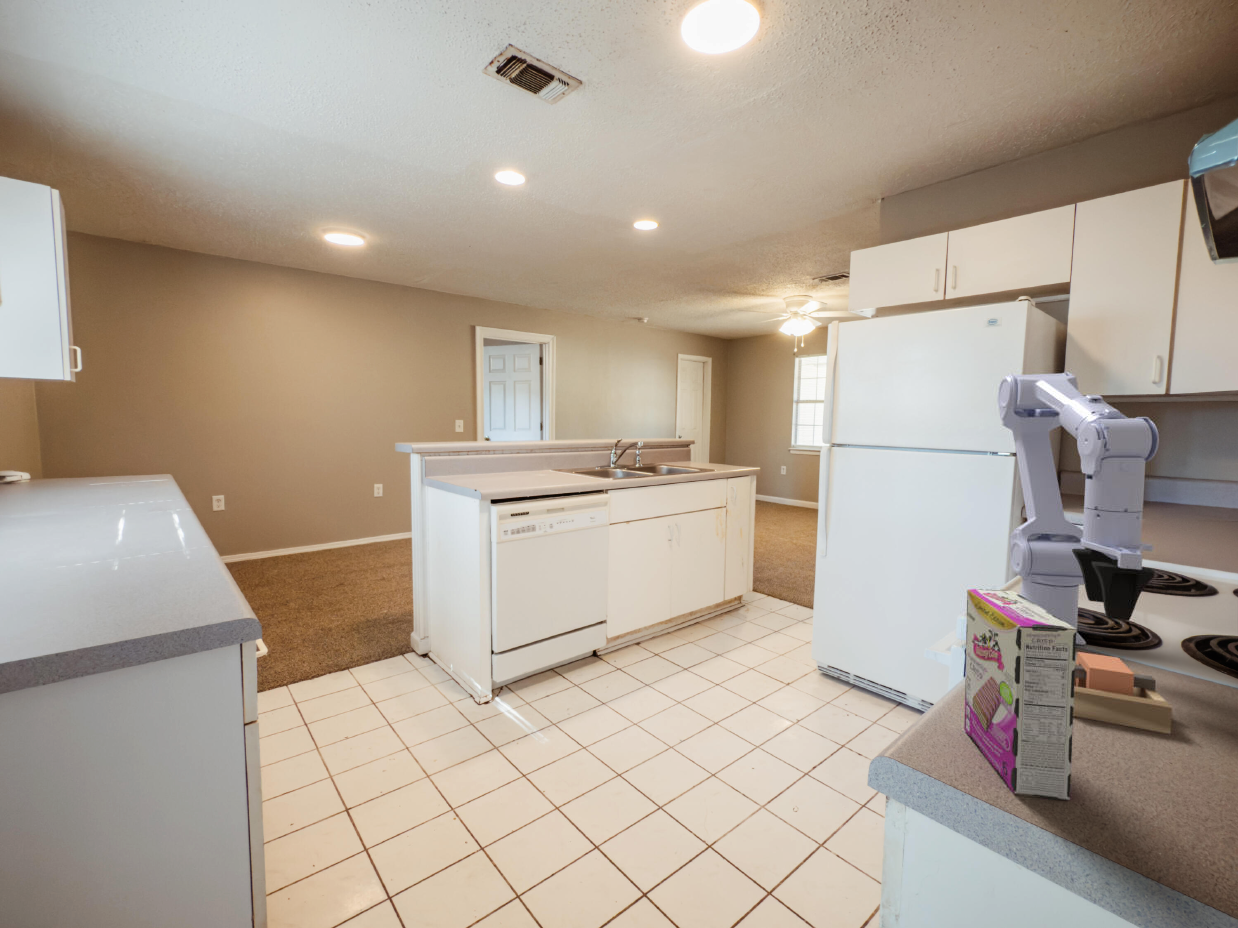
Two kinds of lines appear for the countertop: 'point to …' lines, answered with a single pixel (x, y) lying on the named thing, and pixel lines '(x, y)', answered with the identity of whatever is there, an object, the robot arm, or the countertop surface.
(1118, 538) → the robot arm
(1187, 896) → the countertop surface
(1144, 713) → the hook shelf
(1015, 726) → the candy bar box
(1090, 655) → the salmon notched block
